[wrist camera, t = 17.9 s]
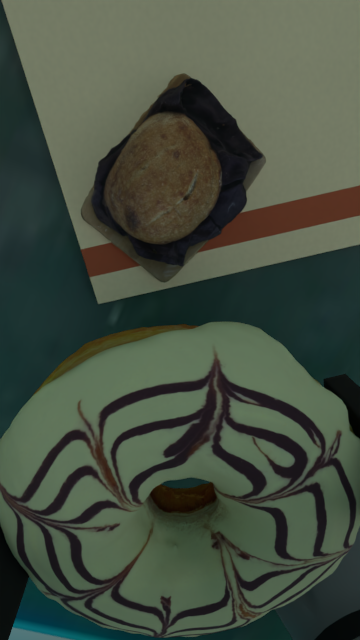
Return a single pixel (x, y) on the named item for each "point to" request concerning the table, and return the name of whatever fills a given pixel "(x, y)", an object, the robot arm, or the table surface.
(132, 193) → the bread roll
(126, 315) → the table surface
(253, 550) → the decorated donut
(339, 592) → the robot arm
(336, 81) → the towel
